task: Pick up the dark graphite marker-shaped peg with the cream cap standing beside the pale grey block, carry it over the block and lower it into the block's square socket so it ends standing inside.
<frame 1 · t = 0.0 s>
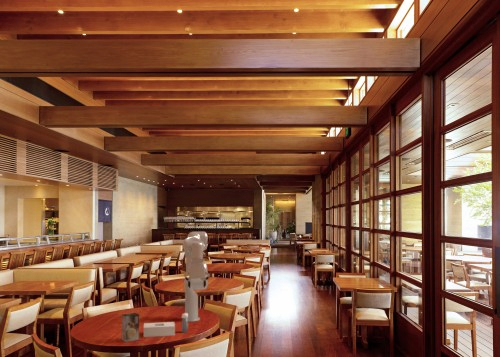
hand: (196, 287, 314), 31 cm above the table, tool pointing down, fingers open, 9 cm apart
socket block: (159, 334, 317), on the table
marker peg: (184, 331, 322), on the table
coffee box: (130, 340, 302), on the table
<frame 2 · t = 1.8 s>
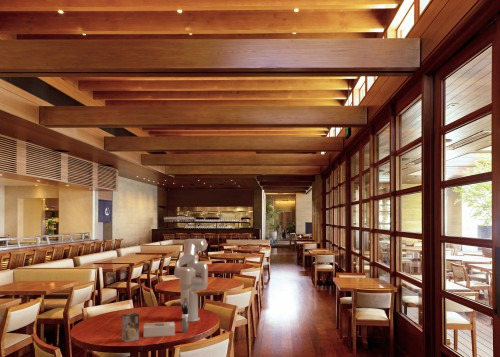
hand: (184, 312, 322), 13 cm above the table, tool pointing down, fingers open, 9 cm apart
nothing on the table moved.
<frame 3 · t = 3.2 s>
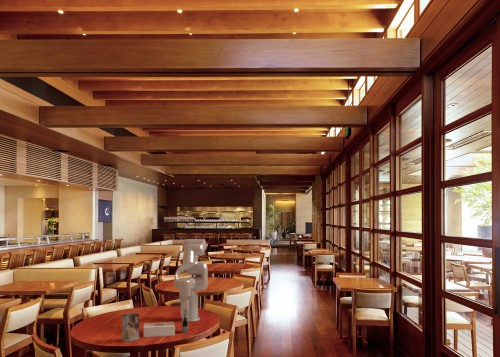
hand: (184, 325, 322), 4 cm above the table, tool pointing down, fingers closed on marker peg, 4 cm apart
marker peg: (184, 331, 322), on the table, touching gripper
everything else where it was.
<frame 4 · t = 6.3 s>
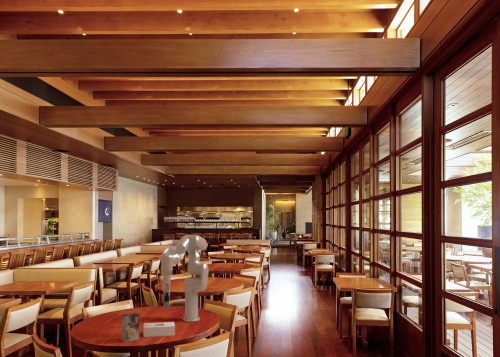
hand: (166, 300, 319), 22 cm above the table, tool pointing down, fingers closed on marker peg, 4 cm apart
marker peg: (166, 307, 319), point 17 cm above the table, touching gripper
everything else where it was.
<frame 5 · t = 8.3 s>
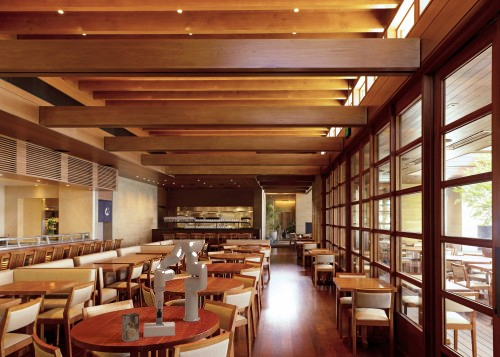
hand: (159, 316, 317), 11 cm above the table, tool pointing down, fingers closed on marker peg, 4 cm apart
marker peg: (159, 323, 317), point 7 cm above the table, touching gripper
everything else where it was.
when the fingers open (7 cm above the table, at t = 9.6 s): marker peg drops 3 cm, resting in socket block.
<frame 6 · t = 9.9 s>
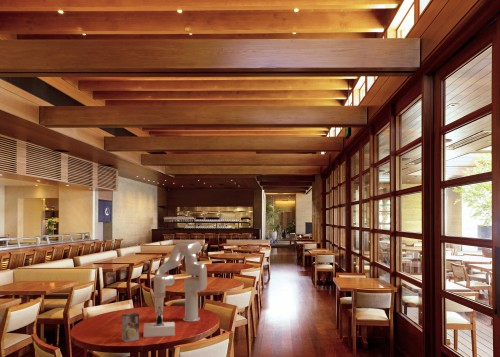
hand: (159, 321, 317), 8 cm above the table, tool pointing down, fingers open, 7 cm apart
marker peg: (159, 334, 317), resting in socket block
everything else where it was.
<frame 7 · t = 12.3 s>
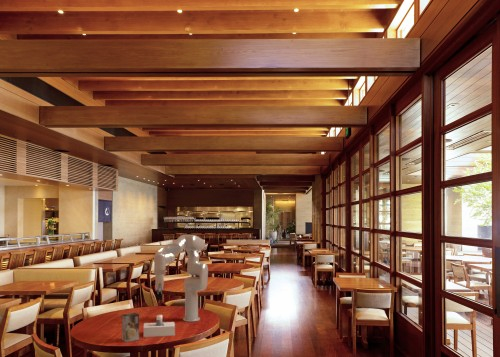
hand: (159, 298, 318), 23 cm above the table, tool pointing down, fingers open, 9 cm apart
nothing on the table moved.
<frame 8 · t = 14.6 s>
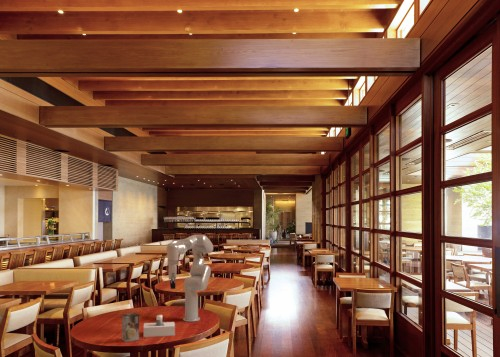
hand: (172, 287, 331), 28 cm above the table, tool pointing down, fingers open, 9 cm apart
nothing on the table moved.
at the end: marker peg 0.0 cm off-centre on the socket block, point 0.0 cm above the socket block's base; marker peg tilted 0°; the gripper is holding nothing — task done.
